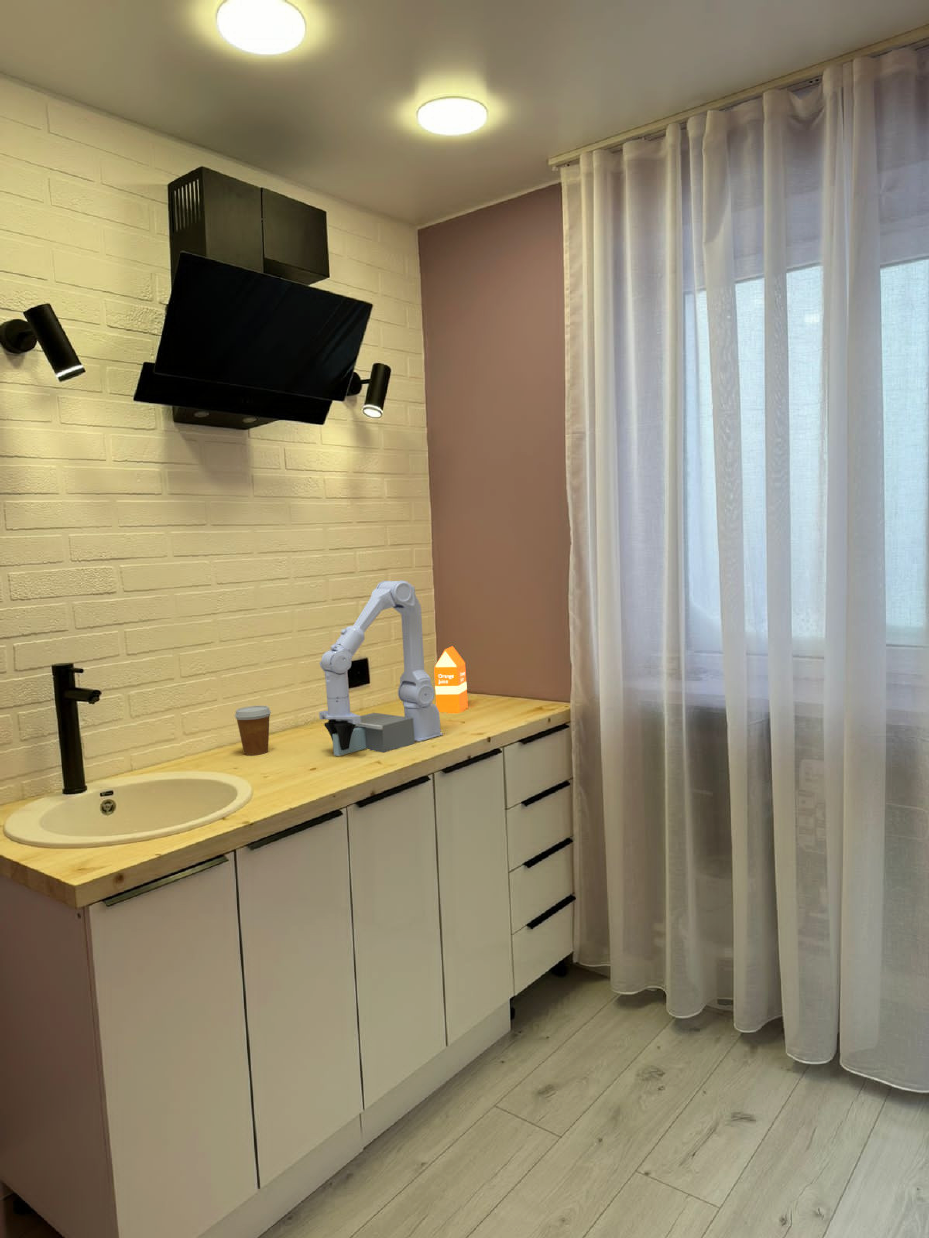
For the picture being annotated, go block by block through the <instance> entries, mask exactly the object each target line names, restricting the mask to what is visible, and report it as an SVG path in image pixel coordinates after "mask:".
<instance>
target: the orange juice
mask: <svg viewBox="0 0 929 1238" xmlns="http://www.w3.org/2000/svg"><path fill="white" fill-rule="evenodd" d="M433 670H434V671H433V673H434V683H435V685H434V688H435V689H434V691H435V701H436V702H435V703H436V706H437V708H438V710H439V712H447V713H446V714H461V713H462V712H464V711H465V710H466V708H467V709H468V708H469V704H468V691H467V690H468V687H467V685H468V683H467V675H466V674H467V673H466V662H465V660H464V659H463V658H462V657H461V655H460V654H459V653H458V651H457V650H456V649H455V647H454V646H452V645H451V646H450V647H448V648H445V649H444V650H443V652H442V654H441V656H440V657H439V658H438V660H437V663H435V666H434V668H433ZM460 712H461V713H460Z"/></svg>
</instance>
